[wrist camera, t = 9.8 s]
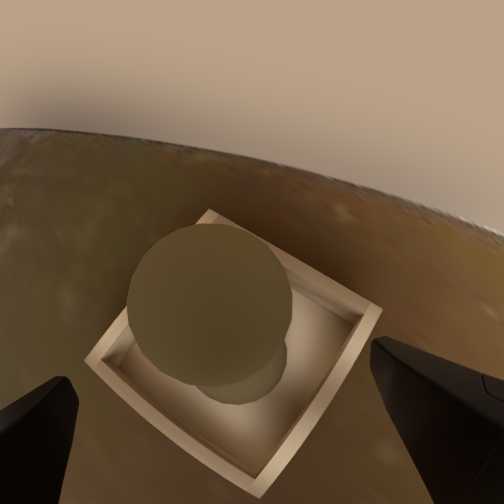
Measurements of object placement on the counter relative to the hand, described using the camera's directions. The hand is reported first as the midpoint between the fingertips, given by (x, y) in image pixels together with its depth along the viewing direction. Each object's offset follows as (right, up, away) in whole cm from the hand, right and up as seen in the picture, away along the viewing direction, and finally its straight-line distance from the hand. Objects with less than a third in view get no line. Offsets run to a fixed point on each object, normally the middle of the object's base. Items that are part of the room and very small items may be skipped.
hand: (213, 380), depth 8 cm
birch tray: (0, -3, +11) cm, 11 cm away
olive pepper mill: (0, -3, +10) cm, 10 cm away
